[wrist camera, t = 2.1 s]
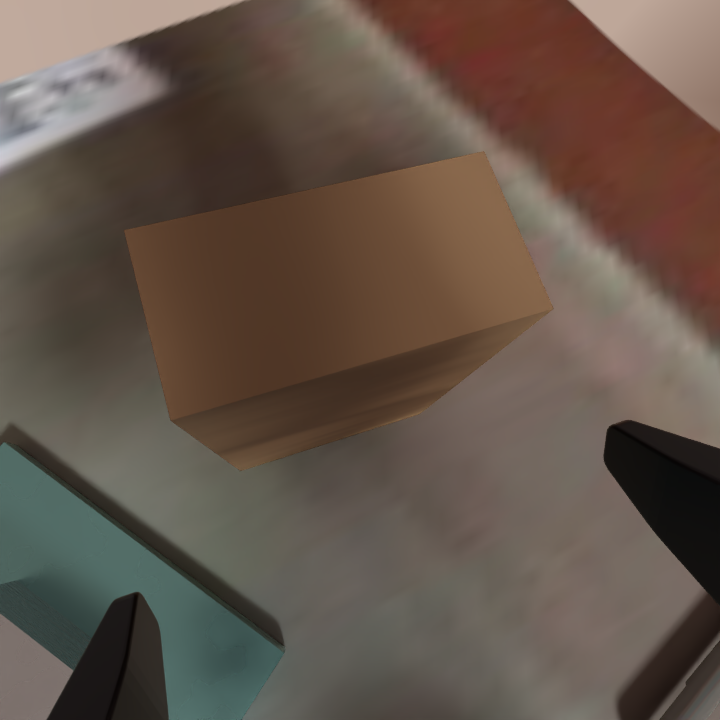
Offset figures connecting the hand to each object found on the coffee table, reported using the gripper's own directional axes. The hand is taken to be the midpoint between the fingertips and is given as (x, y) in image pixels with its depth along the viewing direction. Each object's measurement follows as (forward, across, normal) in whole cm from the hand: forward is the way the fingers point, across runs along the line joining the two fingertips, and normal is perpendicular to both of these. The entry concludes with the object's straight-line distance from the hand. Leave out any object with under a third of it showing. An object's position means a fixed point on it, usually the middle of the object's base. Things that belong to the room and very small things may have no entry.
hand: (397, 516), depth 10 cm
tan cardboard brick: (+10, 0, +5) cm, 11 cm away
